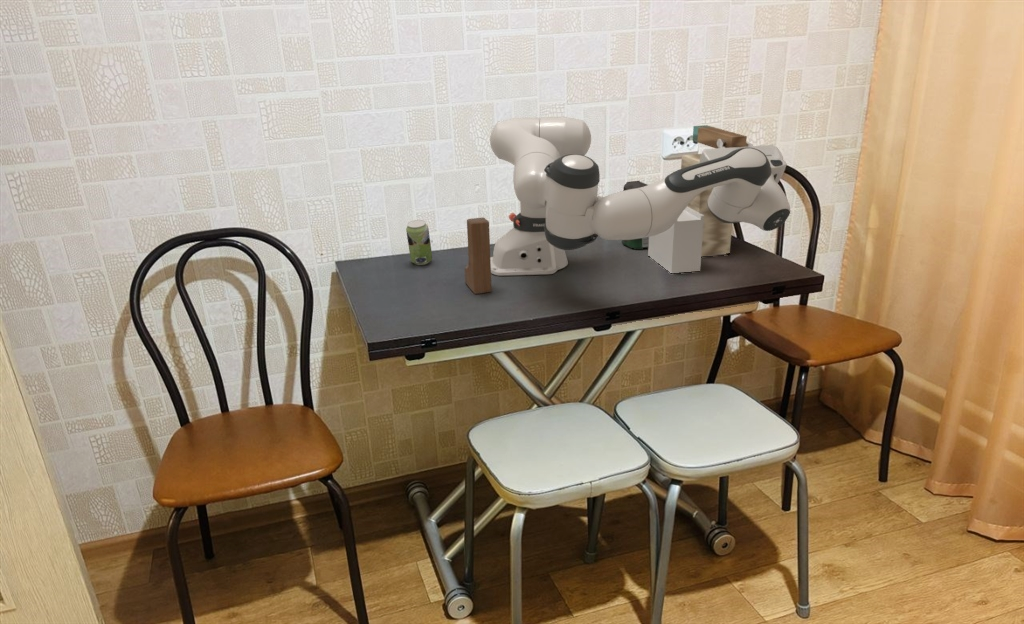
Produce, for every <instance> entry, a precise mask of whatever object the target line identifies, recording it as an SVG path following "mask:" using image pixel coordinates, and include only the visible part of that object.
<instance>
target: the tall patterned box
mask: <svg viewBox="0 0 1024 624" xmlns="http://www.w3.org/2000/svg"><path fill="white" fill-rule="evenodd" d="M701 154H702V153H696V154H693V153H692V154H682V155H681V161H680V162H681V164H680V169H682V168H686V167H689V166H692V165H696V164H699V163H700V157H701ZM712 190H713V188H710V189H707V190H705V191H703V192H701V193H700V194H698V195H697V196H696V197H695V198H694V199H693V200H692V201H691V202H690V203H689V204H688V206H687V207H689V208H691V209H693V210H695V211H697V212H699V213H700V214H702V215H704V224H703V238H702V252H701V256H708V255H716V254H726V253H730V254H731V242H732V230H733V229H732V228H733V223H723V222H721V221H719V220H718V219H716V218H715V217H714V216H713V215H712V214H711V212H710V211H709V208H708V205H707V201H708V199H709V196H710V194H711V192H712Z"/></svg>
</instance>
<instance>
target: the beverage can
mask: <svg viewBox="0 0 1024 624" xmlns="http://www.w3.org/2000/svg"><path fill="white" fill-rule="evenodd" d="M405 231H406V239H407V243H408V250H409V251H408V252H409V258H410V261H411V263H413V264H414V265H417V266H425V265H426V264H429V263H430V262H432V260H433V253H432V244H431V236H430V230H429V225H428V224H427V223H426V221H425V220H422V219H414V220H411V221H410V222H408V223H407V226H406V228H405Z"/></svg>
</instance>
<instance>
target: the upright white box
mask: <svg viewBox="0 0 1024 624" xmlns="http://www.w3.org/2000/svg"><path fill="white" fill-rule="evenodd" d="M703 224H704V215H702V214H700V213H699V212H697V211H695V210H693V209H691V208H689V207H686V208H685V209H684V211H683V212H682V213H681V215H680V216H679V218H678V219H677V220H676V222H675V223H674V224H673V225H672V226H671V227H670V228H669V229H668V230H666V231H664V232H662V233H660V234H658V235H655V236H651V237H649V246H648V248H647V250H648V251H647V257H648V256H650V257H651V258H652V259H654V260H655V261H656V262H657V263H659V264H660V265H661V266H663V267H664V268H665V269H666V270H668V271H669V272H670V273H679V272H691V271H700V272H701V264H702V258H701V252H702V238H703ZM651 258H650V259H651ZM652 259H651V260H652ZM656 262H655V263H656ZM657 263H656V264H657ZM660 265H659V266H660ZM661 266H660V267H661ZM664 268H663V269H664ZM665 269H664V270H665ZM666 270H665V271H666ZM669 272H668V273H669ZM670 273H669V274H670Z"/></svg>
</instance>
